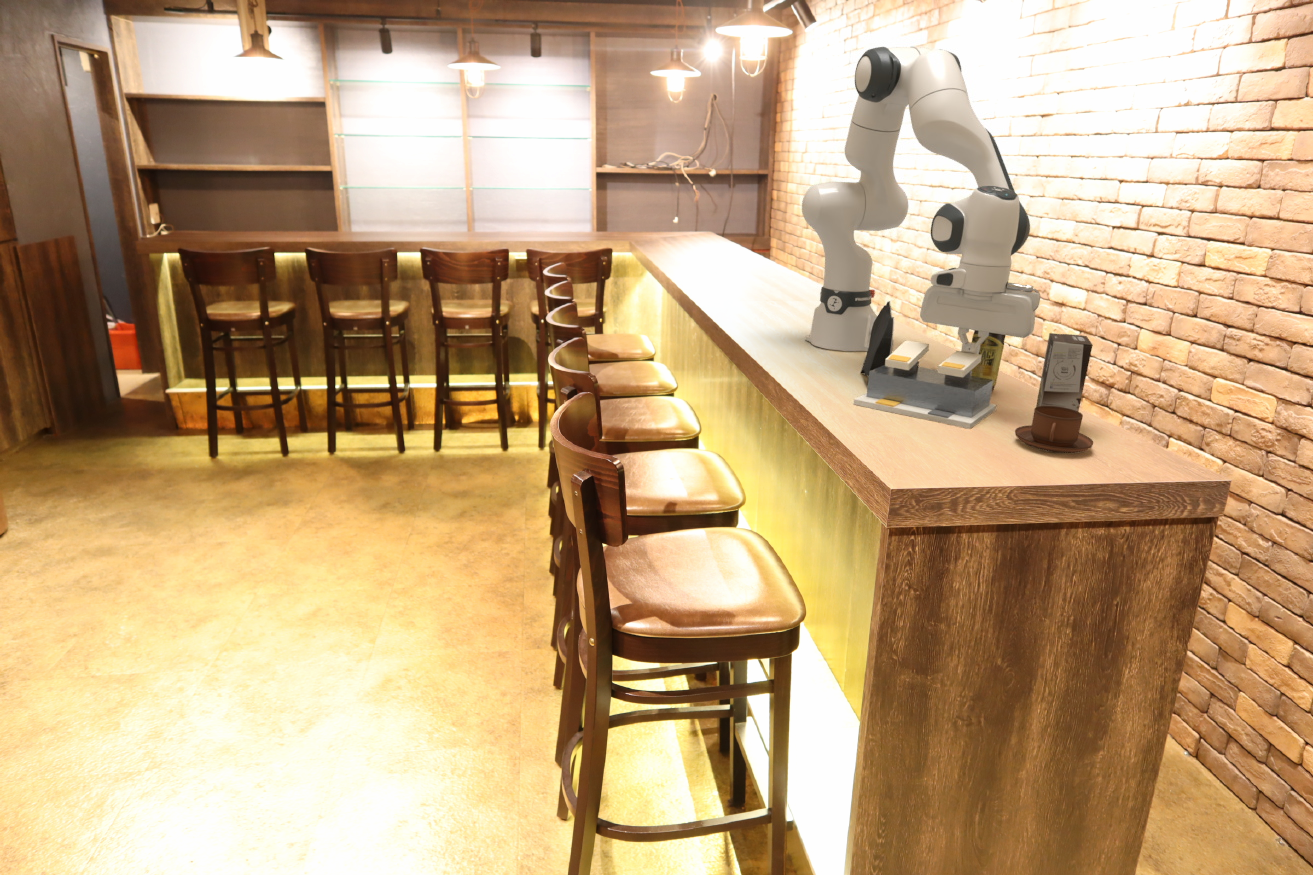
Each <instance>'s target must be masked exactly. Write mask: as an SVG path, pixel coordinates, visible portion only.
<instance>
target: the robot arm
mask: <svg viewBox="0 0 1313 875" xmlns="http://www.w3.org/2000/svg"><path fill="white" fill-rule="evenodd" d="M854 73H855V74H854V86H855V90H856V92H857V94H858V96H857V100H856V103H855V104H854V108H853V111H852V116H851V121H850V123H849V129H848V134H847V138H846V141H845V146H844V156H845V158H846V161H847V163H848V164H850V165H851V166H852V167H853V168H855V169H856V170H858V171H860V178H859V180H858V182H857V181H856V182H852V181H848V182H847V181H827V182H821V183H817V184H813V185H811V186H810V187H809V188H808V189H807V191H806V192H805V194H804V195H803V199H802V202H801V212H802V216H803V219H804V220H805V222H806V224H807V225H808V226H810V228H812V229H813V230H814V231H815V233H816V234H817V236H818V237H819V239H820V242H821V244H822V247H823V251H824V252H823V253H824V276H823V286H822V287H821V289H820V293H819V297H820V298H819V301H820V304H819V305H818V306H817V307H816V308H814V311H813V317H812V322H811V328H810V334H807V335H806V336H805V341H807V342H809V343H810V344H812V346H815V347H817V348H822V349H827V350H834V351H841V352H867V351H868V348H869V342H870V336H871V330H872V327H873V323H874V321H875V319H876V318H877V316H878V314H876V312H875V311H874V309H873V308H872V299H874V298H875V296H876V289H870V287H871V278H872V270H873V268H872V267H873V259H872V256H871V254H870V253H869V252H868V251H867V250H866V249H864V248H863V247H862V246H860V245H858V244H857V242H856V240H855V231H867V232H870V231H872V232H879V231H885V230H891V229H895V228H898V227H899V226H901V225H902V223H903V222H904V221H905V219H906V217H907V214H908V212H909V211H908V210H909V199H908V196H907V195H906V192H905V191H904V189H903V188H902V187H901V186H900V185H899V183H898V181H897V179H896V176H895V172H894V171H895V170H894V157H895V152H896V148H897V144H898V140H899V136H900V133H901V128H902V124H903V120H904V117H905V111H906V108H907V107H908V109H909V116H910V123H911V127H912V130H913V134H914V136H915V138H916V140H917V141H918V143H919V144H920V145H921V146H922V147H923V148H924V149H926V150H928V151H929V152H931V153H933V154H936V155H939V156H942V157H945V158H948V159H950V160H952V161H955V162H957V163H958V164H960V165H962V166H964V167H965V168H967V169H968V170H969V172H971V174H972V175H973V177H974V179H975V182H976V185H977V187H976V188H975V189H974V190H973V192H972V193H971V194H969V196H967V197H964V198H963V199H959V200H957V201H953V202H950V203H949V202H948V203H945V204H944V205H942V206H941V207H940V208H939V209H938V210H937V211H936V213H935V214H934V217H933V218H932V221H931V226H930V238H931V241H932V243H933V245H934V247H936V249H938V251H940V252H941V253H945V254H949V255H961V257H960V260H959V264H958V265H959V266H958V267H951V268H948V269H943V270H940V271H937V272H935V273H933V274H931V277H930V284H931V285H930V286H929V287H928V288H927V289H926V291H925V293H924V296H923V299H922V303H921V307H920V311H919V312H920V314H919V317H920V319H921V321H922V322H923V323H929V324H933V325H941V326H946V327H952V328H958V331H957V335H958V337H959V339H960V342H961V343H962V344H961V349H960V350H961V352H966V353H971V354H979V351H980V345H981V344H982V343H983V342H984V341H985V339H986V338H987V337H988V336H989V333H996V334H1002V335H1006V336H1009V337H1014V338H1015V337H1016V338H1021V339H1025V338H1027V337H1029V336H1030V335H1032V333H1034V331H1035V323H1036V311H1037V309H1038V308H1039V306H1040V302H1041V294H1040V291H1039V290H1038V289H1036V288H1034V286H1033V285H1030V284H1019V283H1015V282H1009V280H1010V274H1011V273H1010V272H1011V269H1012V268H1011V267H1012V263H1013V262H1012V256H1013V255H1015V254H1016V253H1017V252H1018V251H1019V250H1020V249H1021V248H1022V247H1023V246H1024V245H1025V243H1026V242H1027V240H1028V238H1029V236H1030V232H1031V224H1030V223H1031V222H1030V219H1029V216H1028V213H1027V211H1026V209H1025V208H1024V206H1023V205H1022V203H1021V202H1020V198H1019V195H1018V194H1017V193H1016V192H1015V189H1014V187H1013V186H1014V185H1013V183H1012V180H1011V177H1010V176H1009V173H1008V170H1007V167H1006V164H1005V162H1004V160H1003V157H1002V154H1001V151H1000V149H999V146H998V144H997V142H996V140H995V138H994V136H993V134H992V133H991V132H990V131H989V130H988V129H987V128H985V127H984V125H983V124H982V122H981V121H980V120H979V118H978V117H977V115H976V113H975V112H974V109H973V107H972V105H971V103H970V99H969V94H968V91H967V90H968V89H967V85H966V83H965V79H964V76H963V73H962V66H961V61H960V59H959V57H958V56H957V55H956V54H955V53H952V52H950V51H948V50H943V49H932V48H928V47H921V46H909V47H908V46H907V47H906V46H905V47H904V46H902V47H898V46H897V47H886V46H878V47H873V48H869V49H867V50H866V51H865V52H863V54H862V55H861V56H860V58H859V59H858V62H857V65H856V68H855V71H854ZM970 330H971V331H975V330H977V331H979V332H978V337H981V338H980V339H979V340H978V341H977V343H971V342H972V341H971V342H970V341H969V339H968V336H967V334H968V333H969V332H970Z"/></svg>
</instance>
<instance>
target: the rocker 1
mask: <svg viewBox="0 0 1313 875" xmlns="http://www.w3.org/2000/svg"><path fill="white" fill-rule="evenodd" d="M929 350H930V344H929V343H924V342H919V341H913V340H905V341H903V342H902V343H901V344H900V345H899V346H898V347H897V348H896V349H895V350H893V351H892V354H891V355H889V356H888V357H887V358H886V359H885V366H888V367H893V368H899V369H904V370H910V369H911V368H912V367H913V366H914V365H915V364H916V363H917V362H918V361H919V362H920V360H921V359H922V358H923V357H924V356H925V355H926V354H927V353H928V352H929Z"/></svg>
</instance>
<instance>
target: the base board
mask: <svg viewBox="0 0 1313 875" xmlns="http://www.w3.org/2000/svg"><path fill="white" fill-rule="evenodd" d="M866 396H867V392H866V393H865V394H862V395H860V396H857V397H856V398H853V405H854V406H855V405H856V406H859V407H865V408H869V409H875V410H879V411H884V412H888V413H893V414H898V415H902V416H906V417H912V418H915V419H920V420H921V419H922V420H924V421H926V420H927V421H931V422H936V423H940V424H945V425H950V426H955V427H959V428H964V429H968V430H971V429H972V428H973V427H975V426H976V425H977V424H979V423H980V422H982V421H983V420H985V418H987V417H989V416H990V415H991V414H993V413H994V412H995V411H996V410H997V407H998V406H997V405H998V404H994V403H990V404H989V406H988V407H986V408H985V409H983V410H982V411H981V412H979V413H978V414H976V415H975V416H973V417H972V418H969V417H964V416H959V415H954V414H953V413H950V412H945V411H940V410H935V409H933V410H929V409H925V408H920V407H915V406H910V405H905V404H900V402H896V401H891V400H886V399H875V398H871V397H866Z"/></svg>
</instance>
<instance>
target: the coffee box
mask: <svg viewBox="0 0 1313 875" xmlns="http://www.w3.org/2000/svg"><path fill="white" fill-rule="evenodd" d="M1093 345H1094V344H1093V343H1092V342H1091V341H1090V339H1089V337H1088V336H1087V335H1080V334H1067V333H1062V334H1061V333H1052V332H1050V333H1049V334H1048V339H1047V344H1046V351H1045V355H1044V360H1043V367H1042V371H1041V378H1040V382H1039V383H1040V384H1039V388H1038V389H1039V390H1038V393H1037V394H1038V395H1037V400H1036V406H1035V408H1036V407H1038V406H1058V407H1064V408H1069V409H1072V410H1075V411H1078V412H1080V406H1081V402H1082V397H1083V392H1084V388H1085V383H1086V377H1087V373H1088V368H1089V364H1090V359H1091V356H1092V355H1091V354H1092V350H1093Z"/></svg>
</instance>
